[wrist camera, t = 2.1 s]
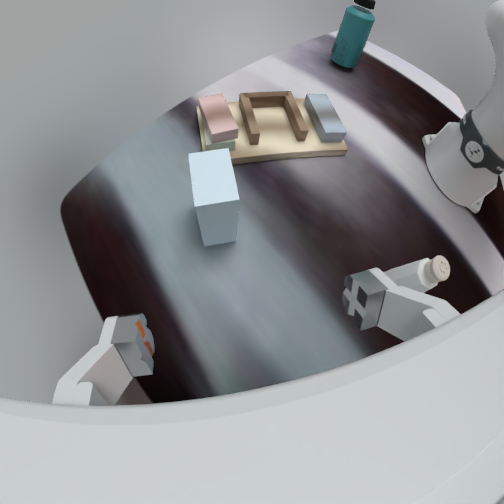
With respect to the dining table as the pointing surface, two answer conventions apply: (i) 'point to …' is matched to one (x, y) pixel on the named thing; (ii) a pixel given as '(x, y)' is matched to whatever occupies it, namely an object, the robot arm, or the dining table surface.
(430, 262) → the pepper shaker
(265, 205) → the dining table surface
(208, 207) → the pale blue upright box
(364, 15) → the beverage bottle
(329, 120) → the block display stand
